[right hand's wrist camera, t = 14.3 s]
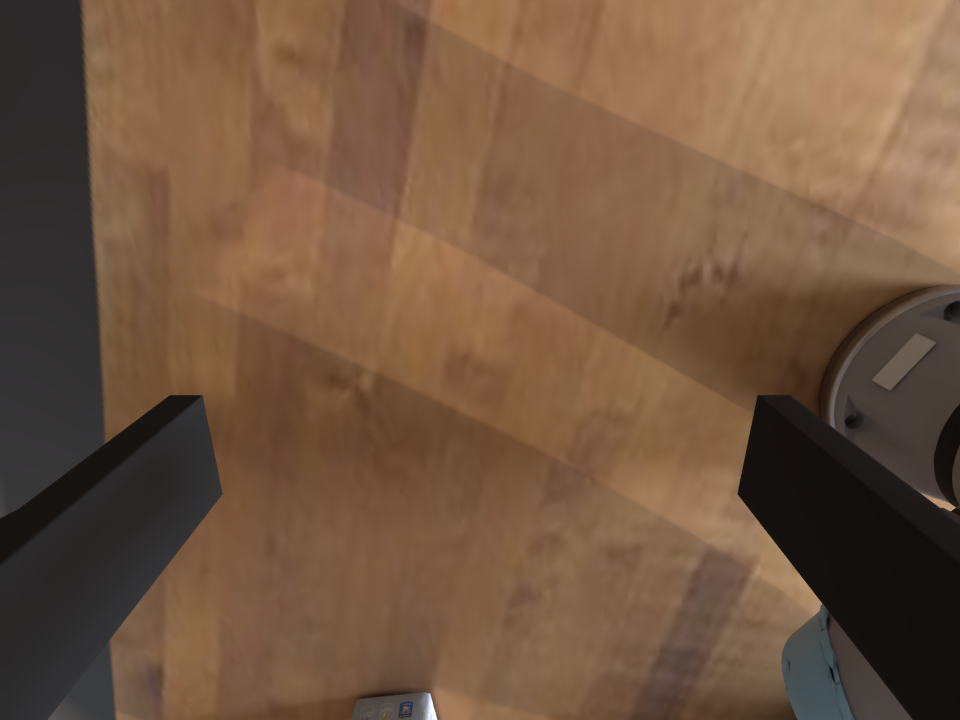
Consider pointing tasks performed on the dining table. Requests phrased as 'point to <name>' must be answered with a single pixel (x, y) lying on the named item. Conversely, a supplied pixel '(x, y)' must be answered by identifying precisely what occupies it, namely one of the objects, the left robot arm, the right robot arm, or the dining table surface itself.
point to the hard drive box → (395, 707)
